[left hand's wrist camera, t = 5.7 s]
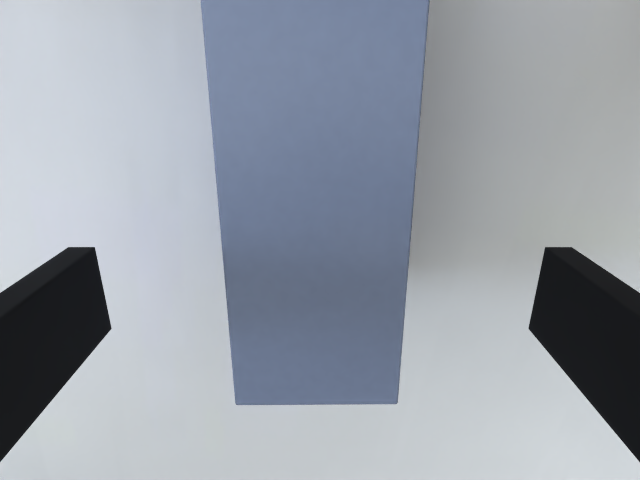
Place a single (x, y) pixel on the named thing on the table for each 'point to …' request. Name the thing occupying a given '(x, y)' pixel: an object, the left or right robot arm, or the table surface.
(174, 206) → the table surface
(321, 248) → the blue-grey rectangular block
